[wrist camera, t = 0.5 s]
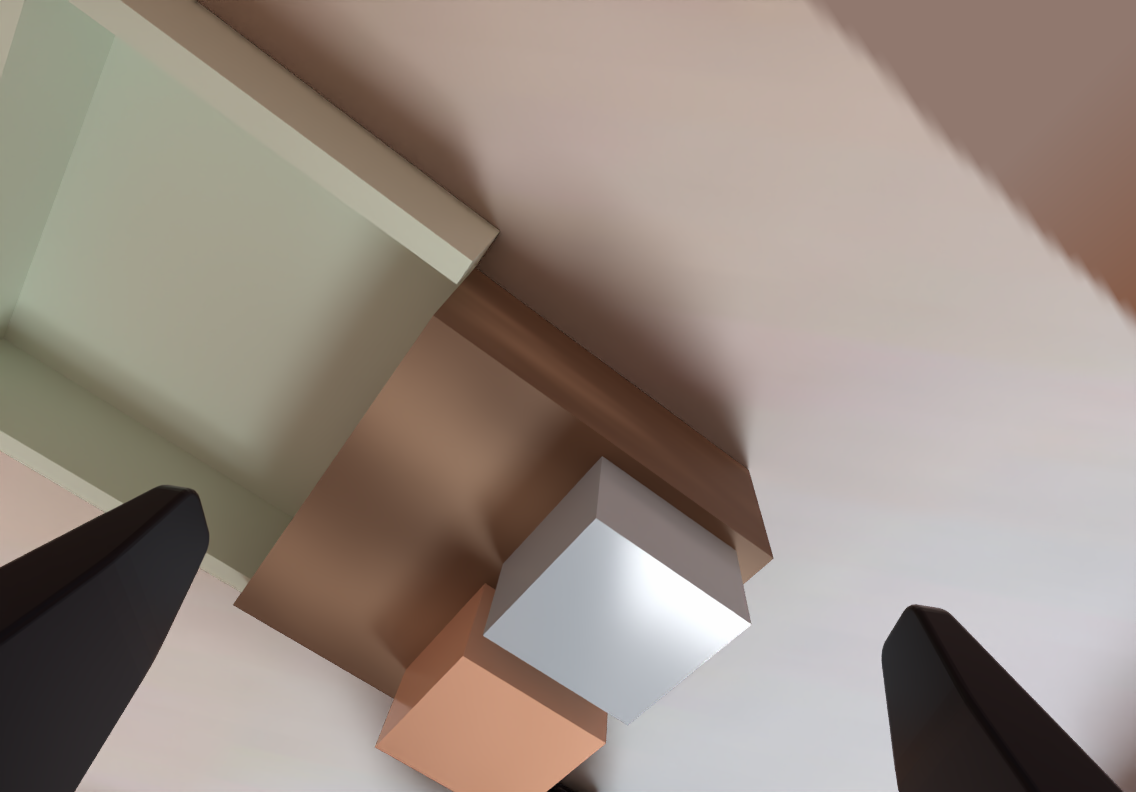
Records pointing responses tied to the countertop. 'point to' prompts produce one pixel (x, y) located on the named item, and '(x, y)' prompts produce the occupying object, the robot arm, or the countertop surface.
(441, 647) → the peach square prism
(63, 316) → the sage tray
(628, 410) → the walnut block
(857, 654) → the countertop surface
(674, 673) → the pale grey squat block
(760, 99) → the countertop surface
